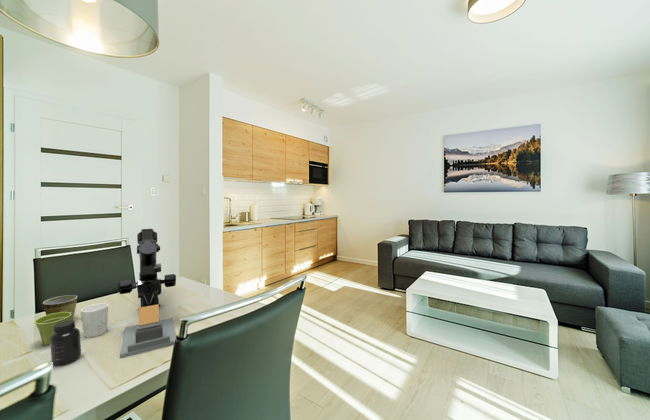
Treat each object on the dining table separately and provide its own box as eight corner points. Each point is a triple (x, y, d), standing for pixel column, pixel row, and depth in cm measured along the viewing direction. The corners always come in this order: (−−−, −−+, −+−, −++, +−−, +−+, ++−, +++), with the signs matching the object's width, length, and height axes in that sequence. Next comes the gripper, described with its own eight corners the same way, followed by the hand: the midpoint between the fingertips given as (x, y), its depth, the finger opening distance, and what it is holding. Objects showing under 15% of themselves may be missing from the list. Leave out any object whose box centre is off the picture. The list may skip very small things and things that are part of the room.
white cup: (113, 329, 105) (113, 304, 105) (90, 340, 98) (89, 313, 97) (100, 326, 108) (99, 301, 107) (76, 336, 100) (75, 309, 100)
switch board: (125, 330, 105) (124, 317, 105) (172, 320, 113) (172, 308, 113) (120, 358, 87) (119, 342, 87) (176, 343, 96) (176, 329, 96)
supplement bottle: (64, 354, 89) (62, 318, 88) (86, 353, 90) (85, 318, 89) (44, 367, 82) (42, 329, 82) (68, 366, 83) (67, 328, 82)
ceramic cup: (83, 320, 112) (82, 297, 112) (51, 331, 103) (49, 306, 103) (67, 314, 118) (66, 292, 117) (35, 324, 109) (34, 300, 108)
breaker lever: (137, 330, 95) (137, 308, 97) (160, 325, 99) (160, 304, 101) (137, 330, 94) (136, 308, 96) (160, 325, 97) (160, 303, 100)
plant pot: (39, 351, 90) (38, 326, 90) (32, 343, 95) (30, 319, 95) (76, 339, 98) (75, 315, 98) (67, 331, 103) (66, 309, 103)
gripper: (117, 259, 101) (115, 298, 92) (175, 254, 111) (178, 288, 102) (120, 275, 108) (118, 312, 99) (174, 268, 118) (176, 302, 109)
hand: (148, 303), depth 102 cm, fingers closed
